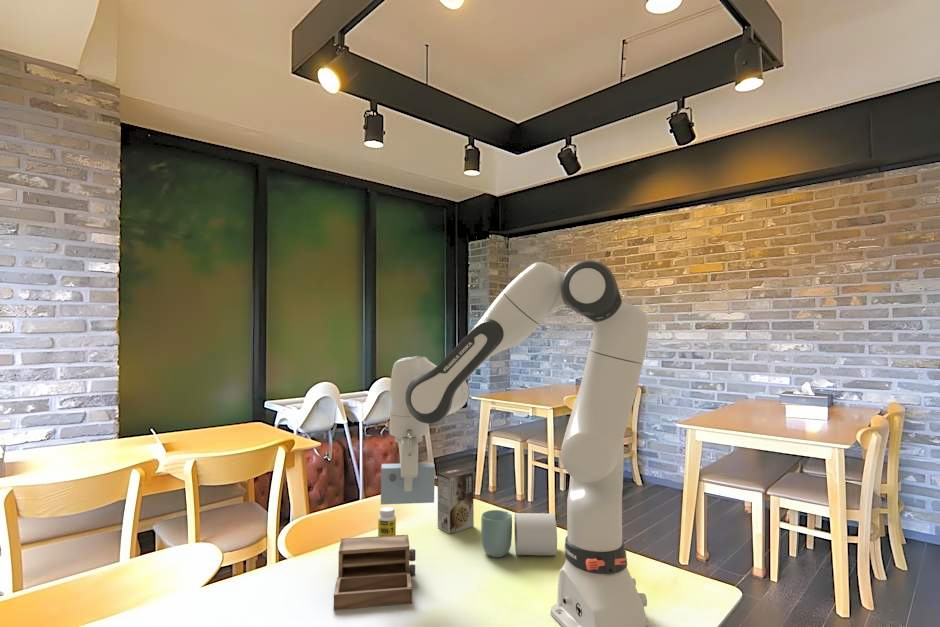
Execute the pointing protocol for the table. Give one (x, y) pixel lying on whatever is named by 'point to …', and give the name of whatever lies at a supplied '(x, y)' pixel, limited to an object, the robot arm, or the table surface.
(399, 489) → the door
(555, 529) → the toilet paper
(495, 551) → the cup
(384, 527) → the supplement bottle
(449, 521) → the coffee box
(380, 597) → the cabinet
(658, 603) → the table surface
